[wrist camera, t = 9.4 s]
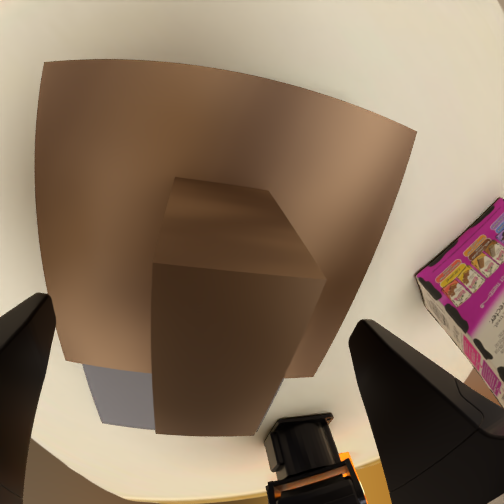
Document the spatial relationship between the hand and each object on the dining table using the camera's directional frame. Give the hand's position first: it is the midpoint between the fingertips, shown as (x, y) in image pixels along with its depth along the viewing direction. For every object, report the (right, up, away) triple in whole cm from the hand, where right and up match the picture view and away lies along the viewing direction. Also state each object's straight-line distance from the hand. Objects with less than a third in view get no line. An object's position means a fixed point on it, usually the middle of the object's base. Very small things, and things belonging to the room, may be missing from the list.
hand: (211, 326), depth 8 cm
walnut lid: (-1, +2, +3) cm, 4 cm away
